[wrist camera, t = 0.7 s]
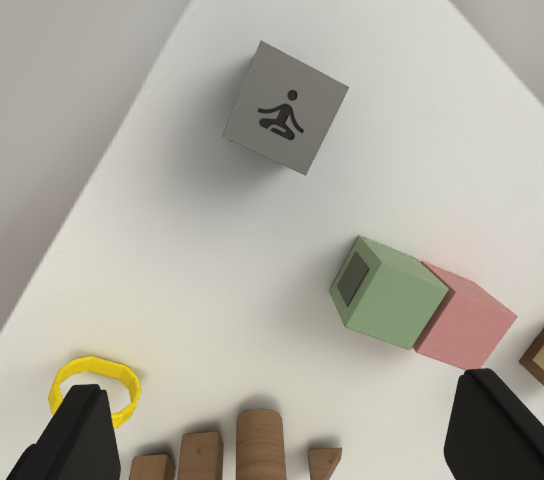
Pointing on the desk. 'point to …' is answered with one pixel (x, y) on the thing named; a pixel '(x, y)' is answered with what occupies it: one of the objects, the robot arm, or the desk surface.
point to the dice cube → (284, 109)
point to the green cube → (386, 293)
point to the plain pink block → (463, 323)
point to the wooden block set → (249, 454)
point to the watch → (100, 368)
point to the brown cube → (535, 358)
